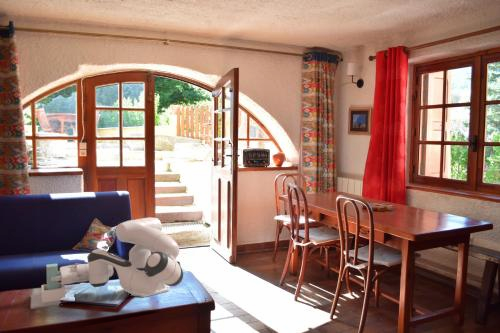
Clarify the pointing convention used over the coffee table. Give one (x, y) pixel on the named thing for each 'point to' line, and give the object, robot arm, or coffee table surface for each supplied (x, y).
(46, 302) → the white block stand
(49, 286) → the teal block
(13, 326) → the coffee table surface
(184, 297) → the coffee table surface
